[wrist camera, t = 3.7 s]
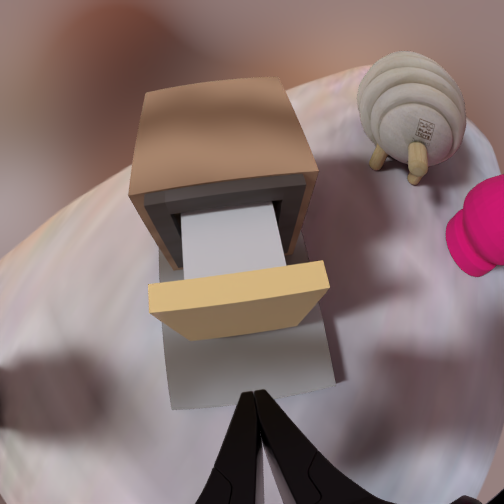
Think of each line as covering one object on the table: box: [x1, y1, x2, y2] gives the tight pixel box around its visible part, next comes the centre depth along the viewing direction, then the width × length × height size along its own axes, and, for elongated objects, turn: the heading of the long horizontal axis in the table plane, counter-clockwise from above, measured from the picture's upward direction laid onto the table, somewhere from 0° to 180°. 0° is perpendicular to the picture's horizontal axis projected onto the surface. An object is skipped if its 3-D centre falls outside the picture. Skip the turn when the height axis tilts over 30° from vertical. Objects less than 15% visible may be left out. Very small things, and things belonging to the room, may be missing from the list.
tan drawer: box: [148, 201, 330, 341], centre depth 14 cm, size 11×6×7 cm, turn 9°
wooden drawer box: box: [128, 77, 336, 410], centre depth 15 cm, size 18×10×9 cm, turn 9°
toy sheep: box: [357, 51, 466, 185], centre depth 20 cm, size 11×17×11 cm, turn 165°
